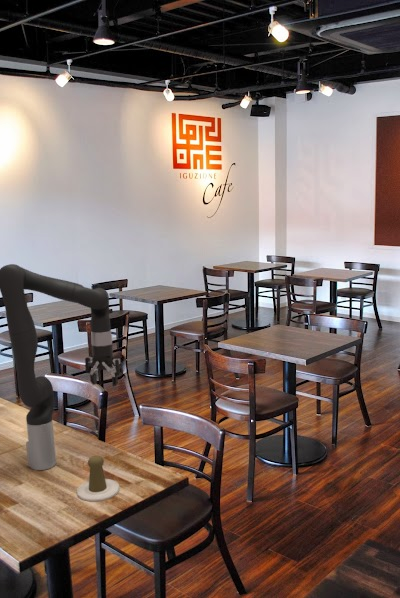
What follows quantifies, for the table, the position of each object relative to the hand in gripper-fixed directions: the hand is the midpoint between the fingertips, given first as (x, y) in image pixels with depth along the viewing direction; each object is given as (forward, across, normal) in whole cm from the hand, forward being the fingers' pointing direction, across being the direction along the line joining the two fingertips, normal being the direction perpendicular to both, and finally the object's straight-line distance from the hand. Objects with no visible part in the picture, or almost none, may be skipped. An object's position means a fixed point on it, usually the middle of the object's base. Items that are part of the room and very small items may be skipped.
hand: (104, 385), depth 228 cm
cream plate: (+28, +10, -26) cm, 40 cm away
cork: (+27, +10, -26) cm, 39 cm away
